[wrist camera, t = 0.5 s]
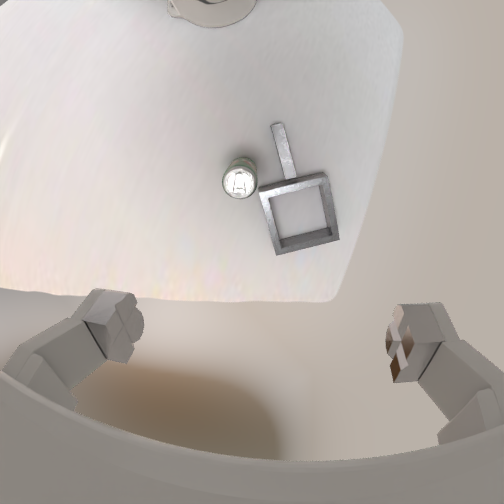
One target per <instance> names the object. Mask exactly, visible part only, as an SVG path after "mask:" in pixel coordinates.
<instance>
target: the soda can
mask: <svg viewBox="0 0 504 504" xmlns="http://www.w3.org/2000/svg"><path fill="white" fill-rule="evenodd" d="M222 185H223V188H224V190H225V192H226V193H227V194H228V195H229V196H231V197H233V198H236V199H244V198H247V197H249V196H251V195H252V194H253V193H254V191H255V190H256V187H257V169H256V165H255V164H254V162H253V161H252V160H250V159H248V158H244V157H241V158H237V159H235V160H234V161H232V163H231V164H230V166H229V167H228V169H227V170H226V172H225V174H224V176H223V179H222Z"/></svg>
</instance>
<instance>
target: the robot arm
mask: <svg viewBox="0 0 504 504" xmlns="http://www.w3.org/2000/svg"><path fill="white" fill-rule="evenodd" d="M256 1H257V0H167V10H168V14H169V15H170V16H171V17H176V18H184V19H186V20H188V21H189V22H191V23H193V24H195V25H198V26H202V27H210V28H214V27H223V26H227V25H231V24H233V23H236V22H238V21H240V20H241V19H243V18H244V17H246V16H247V15H248V14H249V13H250V12H251V11H252V9H253V8H254V6H255V4H256ZM173 6H174V7H173ZM136 304H137V300H136V298H135V296H134V294H132V293H128V292H121V291H114V290H105V289H99V288H96V289H93V290H92V291H91V292H90V294H89V295H88V296H87V297H86V299H85V300H84V301H83V302H82V304H81V305H80V306H79V308H78V309H77V310H76V311H75V313H74V314H73V315H72V317H71V318H66V319H64V320H62V321H60V322H59V323H57V324H55V325H54V326H52V327H50V328H48V329H46V330H45V331H43V332H41V333H40V334H38V335H36V336H34V337H32V338H31V339H29V340H27V341H26V342H24V343H22V344H21V345H19V346H18V348H17V349H16V351H15V352H14V353H13V355H12V356H11V357H10V359H9V361H8V362H7V363H6V365H5V366H4V368H3V369H2V371H1V370H0V504H504V373H503V372H502V371H501V370H500V369H499V368H498V367H497V366H495V365H494V364H493V363H491V361H489V360H488V359H487V358H486V357H484V356H483V355H482V354H481V353H480V352H478V351H477V350H476V349H475V348H473V347H472V346H471V345H470V344H468V343H467V342H466V341H465V340H460V339H459V337H458V335H457V332H456V330H455V328H454V326H453V324H452V322H451V320H450V318H449V316H448V314H447V312H446V310H445V308H444V306H443V304H442V303H440V302H436V303H426V304H425V303H423V304H398V305H397V306H396V307H395V309H394V312H393V317H394V321H393V322H392V323H391V324H389V326H388V329H387V332H386V349H387V354H388V355H389V356H390V357H391V358H392V359H393V360H392V362H391V364H390V368H391V373H392V377H393V382H394V383H401V382H413V381H418V383H419V385H420V386H421V387H422V388H423V389H424V391H425V392H426V393H427V394H428V395H429V397H430V398H431V399H432V400H433V401H434V403H435V404H436V405H437V406H438V408H439V409H440V410H441V411H442V412H443V414H444V415H445V416H446V418H447V419H448V420H449V421H450V422H449V423H448V424H446V425H445V426H444V427H443V428H442V429H441V430H440V431H439V433H438V434H437V436H438V442H439V445H438V446H435V447H430V448H426V449H421V450H417V451H411V452H406V453H400V454H394V455H387V456H380V457H372V458H363V459H351V460H335V461H284V460H283V461H282V460H267V459H255V458H245V457H236V456H229V455H222V454H216V453H210V452H205V451H199V450H194V449H189V448H184V447H180V446H176V445H172V444H168V443H164V442H160V441H156V440H153V439H149V438H146V437H142V436H139V435H136V434H132V433H130V432H127V431H123V430H121V429H118V428H115V427H112V426H110V425H107V424H104V423H102V422H99V421H96V420H94V419H91V418H89V417H87V416H85V415H82V414H80V413H77V412H75V411H74V409H75V407H76V405H77V403H78V401H77V398H76V397H75V396H74V395H73V394H72V393H71V391H70V390H71V389H73V388H74V387H75V386H76V385H77V384H79V383H80V382H81V381H82V380H83V379H85V378H86V377H87V376H89V375H90V374H91V373H92V372H93V371H95V370H96V369H97V368H98V367H100V366H101V365H102V364H103V363H105V362H106V361H107V360H112V361H116V362H121V363H126V364H127V362H128V360H129V358H130V357H131V355H132V353H133V351H134V345H133V343H134V342H136V341H138V340H139V339H140V337H141V335H142V333H143V328H144V320H143V316H142V313H141V312H140V311H139V310H138V309H137V308H136V307H135V306H136ZM106 359H107V360H106Z"/></svg>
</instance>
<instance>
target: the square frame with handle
mask: <svg viewBox="0 0 504 504" xmlns="http://www.w3.org/2000/svg"><path fill="white" fill-rule="evenodd" d="M271 129H272V132H273V136H274V139H275V143H276V147H277V150H278V154H279V158H280V161H281V165H282V169H283V173H284V177H285V179H290V178H294V177H297V176H296V172H295V168H294V164H293V160H292V156H291V153H290V149H289V145H288V141H287V137H286V134H285V130H284V127H283V123H279V124H275V125H271ZM317 185H319V188H320V192H321V197H322V202H323V207H324V212H325V217H326V222H327V228H325V229H321V230H317V231H313V232H309V233H305V234H301V235H297V236H293V237H289V238H285V239H281V240H279V237H278V233H277V229H276V225H275V221H274V218H273V214H272V210H271V206H270V203H269V199H268V198H269V197H273V196H277V195H281V194H285V193H289V192H293V191H297V190H301V189H305V188H309V187H313V186H317ZM259 195H260V198H261V202H262V205H263V209H264V213H265V216H266V220H267V223H268V227H269V231H270V234H271V238H272V242H273V245H274V249H275V253H276V256H277V255H281V254H285V253H289V252H293V251H297V250H301V249H305V248H309V247H313V246H317V245H321V244H325V243H329V242H333V241H337V240H340V239H339V233H338V227H337V221H336V215H335V210H334V204H333V199H332V194H331V189H330V184H329V179H328V176H327V175H326V174H324V173H323V172H322V173H318V174H313V175H309V176H305V177H300V178H296V179H292V180H288V181H284V182H280V183H276V184H272V185H268V186H264V187H261V188H259Z"/></svg>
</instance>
